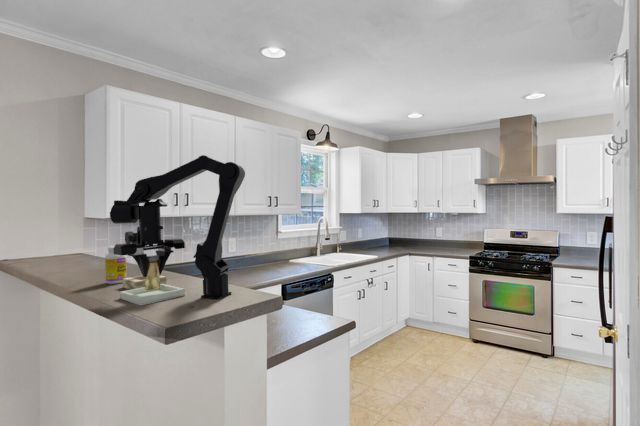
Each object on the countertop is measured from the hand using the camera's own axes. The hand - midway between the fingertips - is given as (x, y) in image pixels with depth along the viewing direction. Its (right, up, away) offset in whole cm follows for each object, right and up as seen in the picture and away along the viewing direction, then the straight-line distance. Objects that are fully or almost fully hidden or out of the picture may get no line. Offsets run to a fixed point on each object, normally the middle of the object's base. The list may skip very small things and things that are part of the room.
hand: (152, 275), depth 110 cm
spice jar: (0, -4, 0) cm, 4 cm away
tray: (0, -6, 0) cm, 6 cm away
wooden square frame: (-9, -6, +15) cm, 19 cm away
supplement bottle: (-23, -7, +24) cm, 34 cm away
